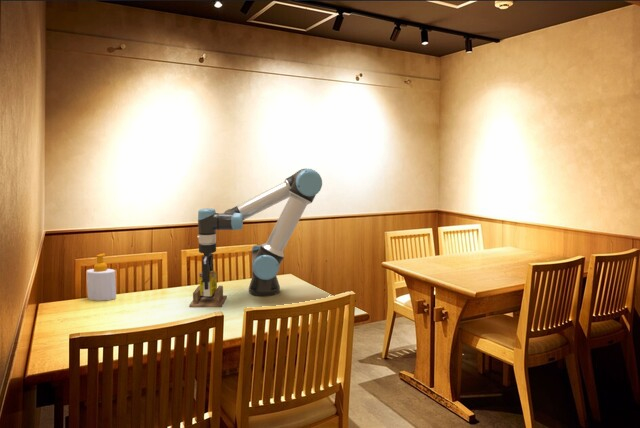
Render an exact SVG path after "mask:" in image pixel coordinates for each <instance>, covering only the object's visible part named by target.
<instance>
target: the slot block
mask: <svg viewBox="0 0 640 428" xmlns="http://www.w3.org/2000/svg"><path fill="white" fill-rule="evenodd" d="M227 298H228V297H227V295H226V294H224V286H223V285H217V290H216V291H215V293H214V297H212V298H206V297H200V285H197V287H196V288H195V290H194V291H193V292H192V301H191V302H190V304H189V308H222V307H223V305H224V304H225V301H226V299H227Z"/></svg>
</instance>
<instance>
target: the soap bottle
mask: <svg viewBox="0 0 640 428" xmlns="http://www.w3.org/2000/svg"><path fill="white" fill-rule="evenodd" d="M105 256H106V253H100V254H96V263H95V264H94V265H93V268H90V269H87V270H86V289H87V290H86V291H87V299H88V300H90V301H97V302H98V301H99V302H105V301H106V302H107V301H112V300H114V299H115V300H116V298H117V288H116V287H117V285H116V284H117V283H116V270H115V269H112V268H108V265H107V263H106V262H104V257H105Z"/></svg>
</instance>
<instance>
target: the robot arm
mask: <svg viewBox="0 0 640 428" xmlns="http://www.w3.org/2000/svg"><path fill="white" fill-rule="evenodd" d="M322 186H323V179H322V177H321V174H320V173H319V172H318V171H316V170H314V169H312V168H301V169H300V170H298V171H296V172H295V173H293V174H292V175H290V176H288V177H286V178H285V179H284V181H283V182H281V183H279V184H278V185H275V186H274V187H271V188H269V189H268V190H266V191H264V192H262V193H260V194H258V195H255V196H254V197H252V198H250V199H247V200H246V201H244V202H242V203H240V204H238V205H237V206H234V207H232V208H228V209H227V210H225V211H224V212H222V213H219V212H216V209H215V208H200V209H199V210H198V212H197V213H198V214H197V229H198V235H197V236H196V237H197V239H198V243H199V244H198V252H199V254H203V256H202V260H201V263H202V266H201V267H202V270H201V271H202V272H201V273H202V281H201V282H203V287H204V296H210V282H209V274H210V271H215V270H214V253H216V252H217V244H216V242H217V232H216V231H237V230H243V227H244V224H243V221H244V220H247V219H249V218H251V217H253V216H254V215H257V214H259V213H260V212H263V211H264V210H267V209H269V208H270V207H273V206H274V205H276V204H279V203H281V202H282V201H284V200H286V199H288V200H287V202H286V204H285V205H284V207H283V209H282V211H281V213H280V215H279V216H278V219H277V221H276V223H275V225H274V227H273V229H272V231H271V233H270V234H269V237H268V239H267V240H266V242H265V243H262V244H260V245H258V244H257V245H254V246H252V247H251V264H252V265H251V273H252V275H251V280H250V282H249V287H248V293H249V294H250V295H253V296H258V297H267V296H274V295H275V296H276V295H277V294H279V293H280V292H281V287H280V285H281V284H280V282H279V280H278V277H277V276H278V275H277V274H278V273H279V270H280V265H281V264H282V261H283V260H284V257H285V254H284V250H285V248H286V246H287V245H288V242H289V240H290V239H291V236H292V235H293V233H294V231H295V229H296V227H297V225H298V223H299V221H300V219H301V217H302V215H303V214H304V212H305V209H306V208H307V206H308V205H310V204H312V203H313V202H314V199H315V198H316V196H317V195H318V194H319V193H320V192H321V189H322Z"/></svg>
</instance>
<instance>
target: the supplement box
mask: <svg viewBox="0 0 640 428" xmlns="http://www.w3.org/2000/svg"><path fill="white" fill-rule="evenodd" d="M217 273H218V271H217V270H214V271H210V274H209V282H210V296H204V287H203V282H201V281H202V272H200V273H199V275H198V276H199V279H198V280H199V286H200V297H206V298H212V297H214V293H215V291H216V290H217V288H218V282H217V281H218V280H217V279H218V276H217V275H218V274H217Z"/></svg>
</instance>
